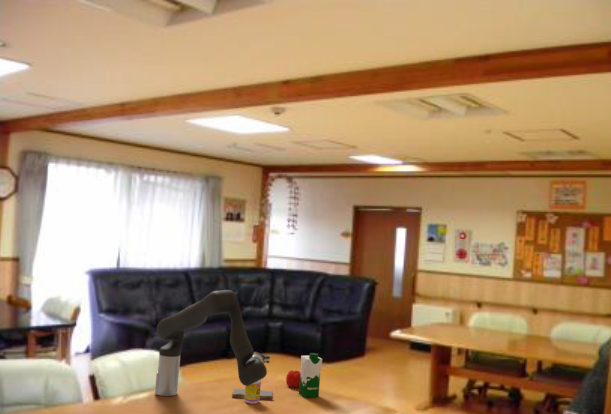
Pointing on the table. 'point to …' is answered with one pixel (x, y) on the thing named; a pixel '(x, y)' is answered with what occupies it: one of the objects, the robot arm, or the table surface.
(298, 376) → the tomato
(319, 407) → the table surface
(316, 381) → the milk carton
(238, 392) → the mat
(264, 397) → the rail
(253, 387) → the supplement bottle
